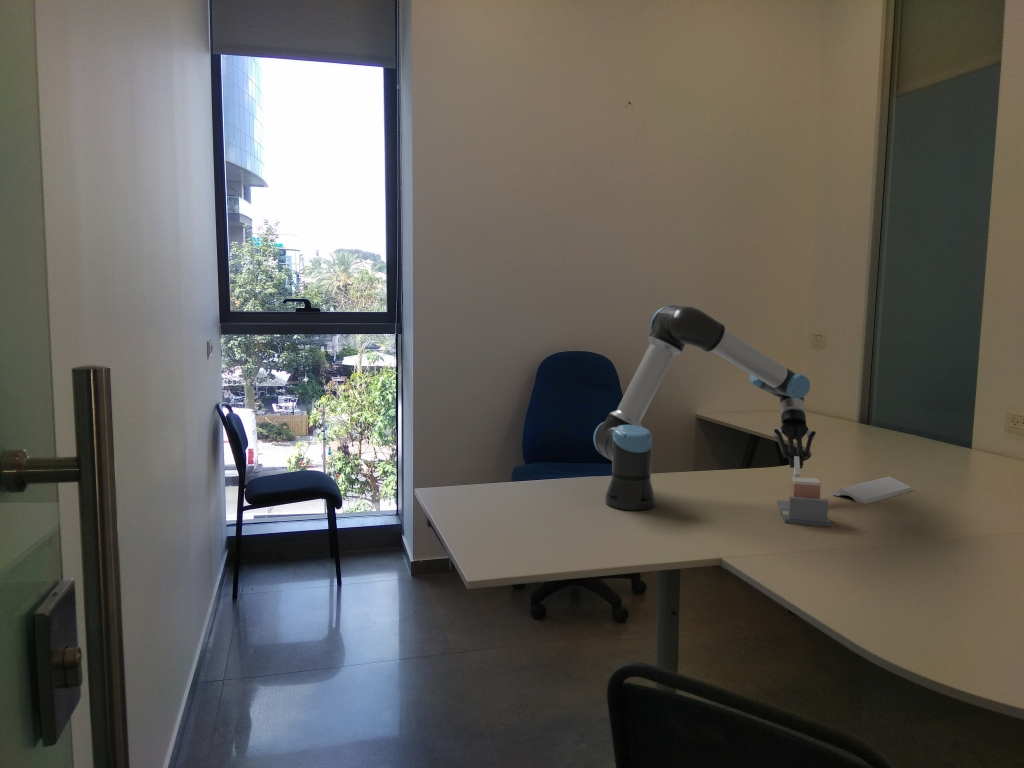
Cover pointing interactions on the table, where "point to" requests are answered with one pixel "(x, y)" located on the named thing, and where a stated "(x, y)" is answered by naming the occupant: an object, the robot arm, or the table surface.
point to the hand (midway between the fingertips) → (797, 476)
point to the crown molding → (874, 490)
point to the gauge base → (805, 511)
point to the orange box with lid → (805, 487)
